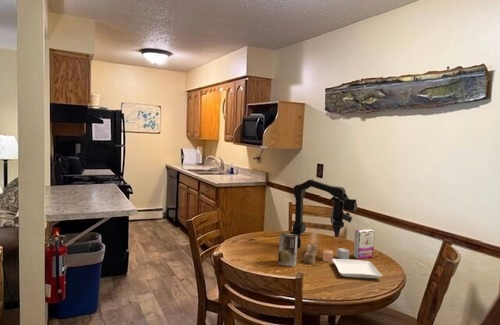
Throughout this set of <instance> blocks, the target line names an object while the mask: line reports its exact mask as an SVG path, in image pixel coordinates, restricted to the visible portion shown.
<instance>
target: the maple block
mask: <svg viewBox="0 0 500 325" xmlns="http://www.w3.org/2000/svg"><path fill="white" fill-rule="evenodd" d="M306 247H307V248H306V252H312V253H316V256H318V246H317V244H312V243H311V244H309V243H307V246H306Z"/></svg>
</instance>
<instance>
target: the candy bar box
mask: <svg viewBox="0 0 500 325" xmlns="http://www.w3.org/2000/svg"><path fill="white" fill-rule="evenodd" d="M375 233H376V232H375V230H373V229H371V228H365V229H355V230H354V239H353V240H354V241H353V254H352V255H353V256H354V257H353V258H355V259H356V260H362V258H364V259H370V258H369V257H373V258H374V249H375V247H374V245H375V235H376V234H375Z"/></svg>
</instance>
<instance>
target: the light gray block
mask: <svg viewBox="0 0 500 325" xmlns="http://www.w3.org/2000/svg"><path fill="white" fill-rule="evenodd" d="M350 252H351V251H350V250H348V249H347V248H337V250H336V257H337V259H348V260H350Z"/></svg>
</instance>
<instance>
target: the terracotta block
mask: <svg viewBox="0 0 500 325" xmlns="http://www.w3.org/2000/svg"><path fill="white" fill-rule="evenodd" d="M322 255H323V256H322V261H323V262H328V263H332V262H333V261H332V259H334V258H333V256H334V254H333V250H328V249H324V250H323V254H322Z"/></svg>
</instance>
